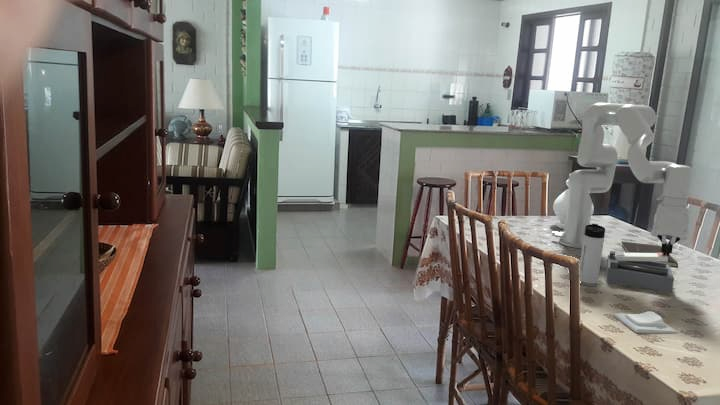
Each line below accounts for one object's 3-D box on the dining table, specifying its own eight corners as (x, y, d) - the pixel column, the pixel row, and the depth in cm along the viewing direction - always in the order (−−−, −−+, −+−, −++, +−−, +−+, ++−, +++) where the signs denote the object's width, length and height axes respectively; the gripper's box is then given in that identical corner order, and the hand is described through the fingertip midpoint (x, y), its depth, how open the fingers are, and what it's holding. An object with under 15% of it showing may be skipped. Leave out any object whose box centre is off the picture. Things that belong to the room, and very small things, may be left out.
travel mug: (596, 281, 196) (605, 224, 191) (597, 287, 190) (606, 229, 185) (577, 278, 198) (585, 222, 193) (577, 284, 192) (586, 226, 187)
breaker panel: (606, 281, 196) (609, 262, 195) (605, 268, 211) (608, 250, 209) (671, 292, 189) (675, 272, 187) (666, 278, 203) (669, 259, 202)
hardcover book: (632, 262, 221) (633, 257, 221) (620, 246, 243) (621, 241, 242) (677, 268, 218) (678, 262, 217) (661, 251, 239) (662, 245, 239)
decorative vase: (547, 220, 279) (554, 170, 274) (585, 224, 277) (593, 173, 271) (554, 230, 262) (561, 176, 256) (595, 233, 260) (603, 179, 254)
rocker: (615, 260, 199) (615, 255, 199) (615, 256, 203) (615, 251, 203) (667, 261, 193) (667, 256, 192) (666, 257, 197) (666, 252, 197)
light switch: (681, 323, 157) (638, 321, 155) (677, 337, 158) (635, 335, 156) (656, 307, 168) (616, 305, 166) (653, 320, 168) (613, 318, 167)
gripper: (650, 201, 190) (642, 254, 194) (701, 206, 185) (692, 261, 188) (648, 197, 197) (640, 249, 201) (697, 202, 192) (689, 255, 195)
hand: (665, 254), depth 195 cm, fingers closed
